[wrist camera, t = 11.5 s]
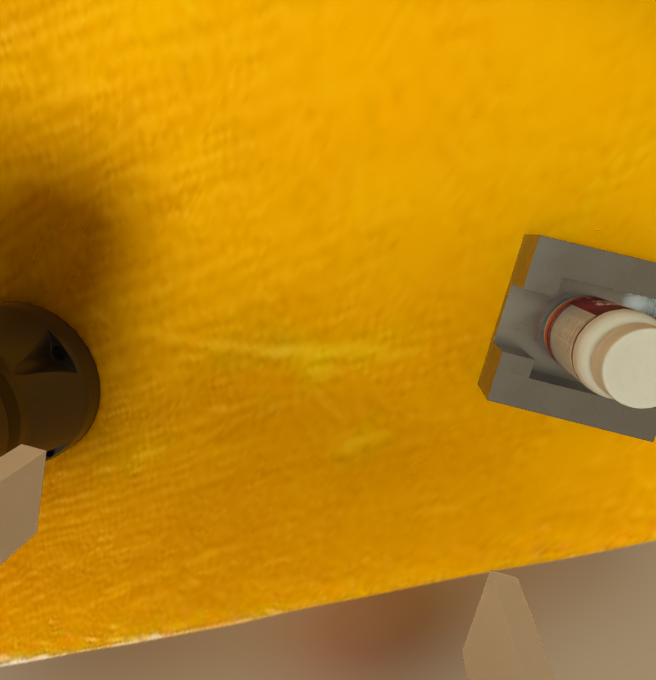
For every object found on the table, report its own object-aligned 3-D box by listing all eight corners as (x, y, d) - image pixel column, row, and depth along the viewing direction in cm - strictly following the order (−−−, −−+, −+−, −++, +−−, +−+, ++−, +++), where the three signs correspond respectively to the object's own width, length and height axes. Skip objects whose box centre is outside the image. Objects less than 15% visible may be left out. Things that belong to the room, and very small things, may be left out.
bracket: (477, 384, 46) (487, 400, 42) (524, 234, 43) (540, 235, 39) (628, 422, 45) (653, 442, 41) (686, 272, 42) (719, 277, 38)
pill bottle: (634, 311, 42) (722, 342, 31) (597, 379, 44) (668, 432, 33) (562, 282, 42) (625, 303, 31) (527, 351, 44) (575, 394, 33)
